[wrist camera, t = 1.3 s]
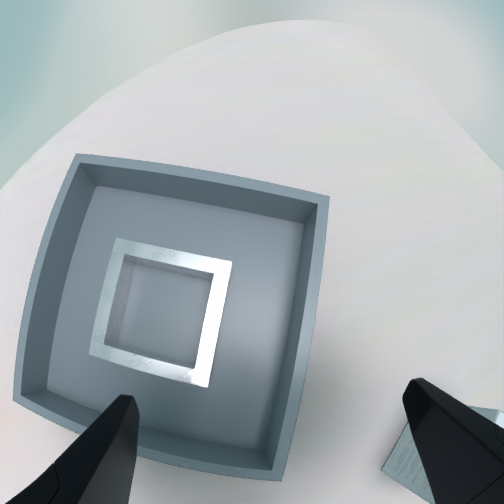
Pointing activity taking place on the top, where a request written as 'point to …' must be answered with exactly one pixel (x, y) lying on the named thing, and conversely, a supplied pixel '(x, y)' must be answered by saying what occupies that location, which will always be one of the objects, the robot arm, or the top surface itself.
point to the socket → (116, 300)
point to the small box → (409, 463)
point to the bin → (178, 310)
